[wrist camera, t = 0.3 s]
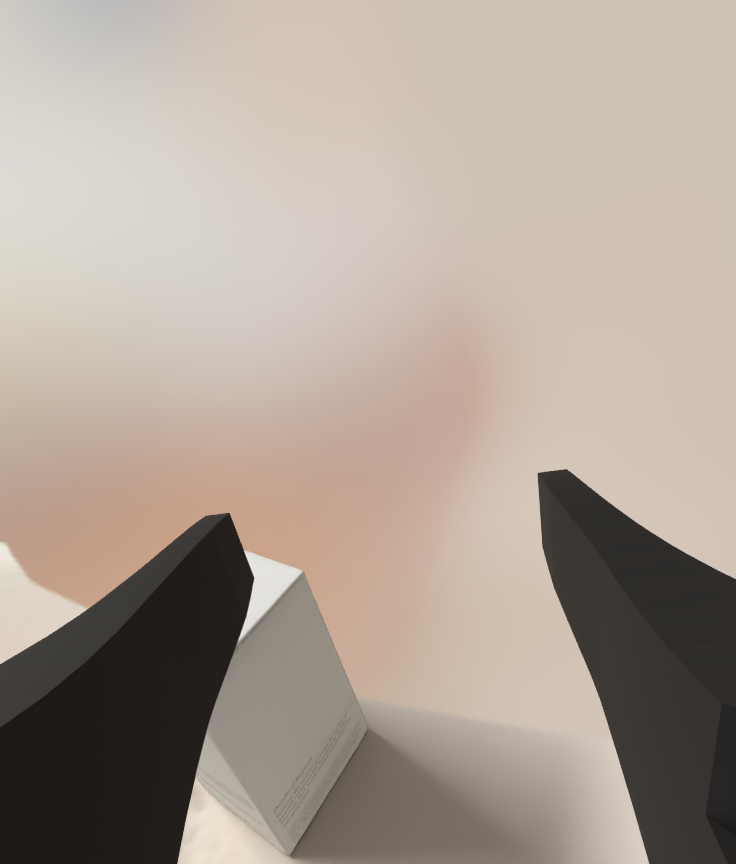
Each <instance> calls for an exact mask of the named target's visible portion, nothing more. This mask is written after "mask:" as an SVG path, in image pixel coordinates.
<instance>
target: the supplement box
mask: <svg viewBox="0 0 736 864" xmlns="http://www.w3.org/2000/svg"><path fill="white" fill-rule="evenodd" d="M244 552H245V555H246V557H247V560H248V563H249V565H250V568H251V570H252V573H253V575H254V583H253V588H252V594H251V599H250V603H249V608H248V612H247V616H246V620H245V622H244V625H243V628H242V631H241V634H240V637H239V640H238V643H237V645H236V648H235V651H234V654H233V656H232V659H231V662H230V665H229V667H228V670H227V673H226V676H225V678H224V681H223V684H222V687H221V689H220V692H219V695H218V698H217V700H216V703H215V706H214V709H213V712H212V715H211V718H210V722H209V725H208V728H207V732H206V736H205V740H204V744H203V748H202V752H201V756H200V760H199V764H198V768H197V772H196V776H195V777H196V778H197V780H198V781H199V783H200V784H201V785H202V786H203V787H204V788H205V789H206V790H207V791H208V792H210V793H211V794H212V795H213V796H214V797H215V798H216V799H218V800H219V801H220V802H221V803H222V804H224V805H225V806H226V807H227V808H228V809H230V810H231V811H232V812H233V813H235V814H236V815H237V816H238V817H239V818H241V819H242V820H243V821H244V822H246V823H247V824H248V825H249V826H251V827H252V828H253V829H254V830H256V831H257V832H258V833H259V834H261V835H262V836H263V837H264V838H265V839H267V840H268V841H269V842H270V843H272V844H273V845H274V846H275V847H277V848H278V849H279V850H280V851H282V852H283V853H284V854H285V855H287V856H289V855H290V854H291V853H292V851H293V850H294V848H295V847H296V845H297V843H298V842H299V840H300V839H301V837H302V835H303V834H304V832H305V831H306V829H307V827H308V826H309V824H310V823H311V821H312V819H313V818H314V816H315V814H316V813H317V811H318V810H319V808H320V807H321V805H322V803H323V802H324V800H325V798H326V797H327V795H328V793H329V792H330V790H331V789H332V787H333V786H334V784H335V782H336V781H337V779H338V778H339V776H340V774H341V773H342V771H343V769H344V768H345V766H346V764H347V763H348V761H349V760H350V758H351V756H352V755H353V753H354V751H355V750H356V748H357V747H358V745H359V743H360V742H361V740H362V738H363V736H364V734H365V733H366V731H367V729H368V726H367V723H366V720H365V718H364V716H363V713H362V711H361V708H360V706H359V704H358V701H357V699H356V696H355V694H354V691H353V689H352V687H351V685H350V682H349V680H348V677H347V675H346V673H345V670H344V668H343V665H342V663H341V660H340V658H339V656H338V653H337V651H336V649H335V646H334V644H333V641H332V639H331V637H330V634H329V632H328V629H327V627H326V624H325V622H324V620H323V617H322V615H321V613H320V610H319V608H318V606H317V603H316V600H315V598H314V596H313V593H312V591H311V588H310V586H309V584H308V581H307V579H306V576H305V573H304V571H302V570H300V569H297V568H294V567H291V566H288V565H285V564H282V563H279V562H276V561H273V560H271V559H267V558H265V557H262V556H259V555H256V554H254V553H251V552H248V551H245V550H244Z"/></svg>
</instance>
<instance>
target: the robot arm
mask: <svg viewBox="0 0 736 864" xmlns="http://www.w3.org/2000/svg"><path fill="white" fill-rule="evenodd" d="M538 485H539V500H540V515H541V531H542V545H543V550H544V554H545V557H546V561H547V565H548V568H549V572H550V575H551V578H552V582H553V585H554V588H555V591H556V593H557V596H558V598H559V601H560V603H561V605H562V608H563V610H564V612H565V615H566V617H567V620H568V622H569V625H570V627H571V629H572V632H573V634H574V636H575V639H576V641H577V643H578V646H579V648H580V651H581V653H582V655H583V657H584V660H585V662H586V665H587V667H588V669H589V671H590V674H591V676H592V679H593V682H594V684H595V687H596V690H597V692H598V695H599V698H600V700H601V703H602V707H603V710H604V713H605V716H606V719H607V722H608V725H609V729H610V732H611V735H612V739H613V742H614V745H615V748H616V751H617V755H618V758H619V761H620V765H621V768H622V771H623V775H624V778H625V781H626V785H627V788H628V791H629V795H630V798H631V801H632V805H633V808H634V812H635V815H636V818H637V822H638V825H639V829H640V832H641V836H642V839H643V843H644V846H645V850H646V853H647V857H648V860H649V864H736V579H734V578H732V577H730V576H728V575H726V574H724V573H722V572H720V571H717V570H716V569H714V568H712V567H710V566H708V565H707V564H705V563H703V562H701V561H699V560H697V559H695V558H693V557H692V556H690V555H688V554H686V553H684V552H683V551H681V550H679V549H677V548H676V547H674V546H672V545H670V544H669V543H667V542H666V541H664V540H662V539H661V538H659V537H658V536H656V535H655V534H653V533H651V532H650V531H648V530H647V529H645V528H644V527H642V526H641V525H639V524H638V523H636V522H635V521H633V520H632V519H631V518H629V517H628V516H627V515H625V514H624V513H622V512H621V511H620V510H618V509H617V508H615V507H614V506H613V505H611V504H610V503H609V502H608V501H606V500H605V499H604V498H602V497H601V496H599V494H597V493H596V492H595V491H593V490H592V489H591V488H590V487H588V486H587V485H586V484H585V483H583V482H582V481H581V480H580V479H578V478H577V477H576V476H575V475H573V474H572V473H571V472H569V471H568V470H567V469H565V470H557V471H549V472H542V473H538ZM253 583H254V575H253V573H252V570H251V568H250V565H249V563H248V560H247V557H246V555H245V552H244V550H243V547H242V544H241V542H240V539H239V537H238V534H237V531H236V529H235V526H234V524H233V521H232V518H231V516H230V513H225V514H218V515H209V516H205V517H204V518H202V519H201V520H199V521H198V522H197V523H195V524H194V525H193V526H191V527H190V528H189V529H188V530H186V531H185V532H184V533H183V534H181V535H180V536H179V537H178V538H177V539H175V540H174V541H173V542H172V543H171V544H169V545H168V546H167V547H166V548H165V549H164V550H162V551H161V552H160V553H159V554H157V555H156V556H155V557H154V558H153V559H151V560H150V561H149V562H148V563H147V564H145V565H144V566H143V567H142V568H141V569H139V570H138V571H137V572H136V573H134V574H133V575H132V576H131V577H130V578H128V579H127V580H125V581H124V582H123V583H122V584H120V585H119V586H118V587H117V588H115V589H114V590H113V591H112V592H110V593H109V594H108V595H106V596H105V597H104V598H102V599H101V600H100V601H99V602H97V603H96V604H94V605H93V606H92V607H90V608H89V609H87V610H86V611H85V612H83V613H82V614H80V615H79V616H77V617H76V618H74V619H73V620H71V621H70V622H68V623H67V624H65V625H64V626H62V627H61V628H59V629H58V630H57V631H55V632H53V633H52V634H50V635H49V636H47V637H46V638H44V639H42V640H41V641H39V642H37V643H35V644H34V645H32V646H30V647H29V648H27V649H25V650H24V651H22V652H20V653H19V654H17V655H15V656H14V657H12V658H10V659H8V660H7V661H5V662H3V663H2V664H0V864H177V862H178V857H179V852H180V847H181V841H182V836H183V831H184V826H185V821H186V816H187V812H188V807H189V803H190V799H191V794H192V790H193V785H194V781H195V776H196V772H197V768H198V764H199V760H200V756H201V752H202V748H203V744H204V740H205V736H206V732H207V728H208V725H209V722H210V718H211V715H212V712H213V709H214V706H215V703H216V700H217V698H218V695H219V692H220V689H221V687H222V684H223V681H224V678H225V676H226V673H227V670H228V667H229V665H230V662H231V659H232V656H233V654H234V651H235V648H236V645H237V643H238V640H239V637H240V634H241V631H242V628H243V625H244V622H245V620H246V616H247V612H248V608H249V603H250V599H251V594H252V588H253Z"/></svg>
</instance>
